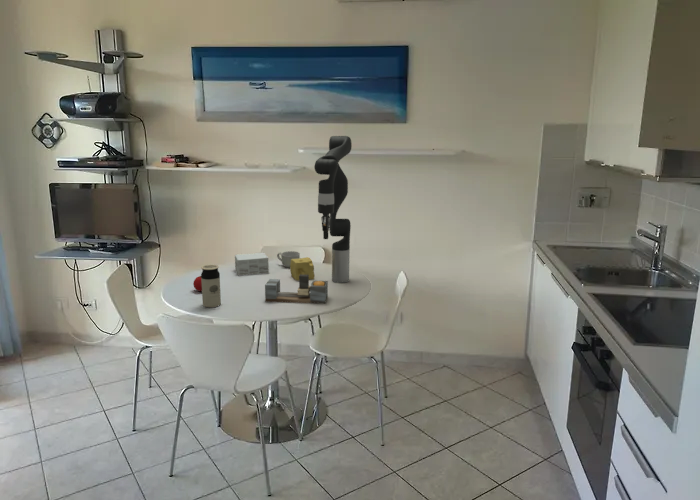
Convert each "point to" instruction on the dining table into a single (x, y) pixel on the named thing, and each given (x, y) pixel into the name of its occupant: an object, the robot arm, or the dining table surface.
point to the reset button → (319, 283)
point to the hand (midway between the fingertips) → (325, 238)
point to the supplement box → (251, 264)
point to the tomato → (198, 284)
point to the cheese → (302, 268)
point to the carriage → (303, 285)
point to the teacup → (288, 257)
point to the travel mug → (210, 286)
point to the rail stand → (295, 293)
